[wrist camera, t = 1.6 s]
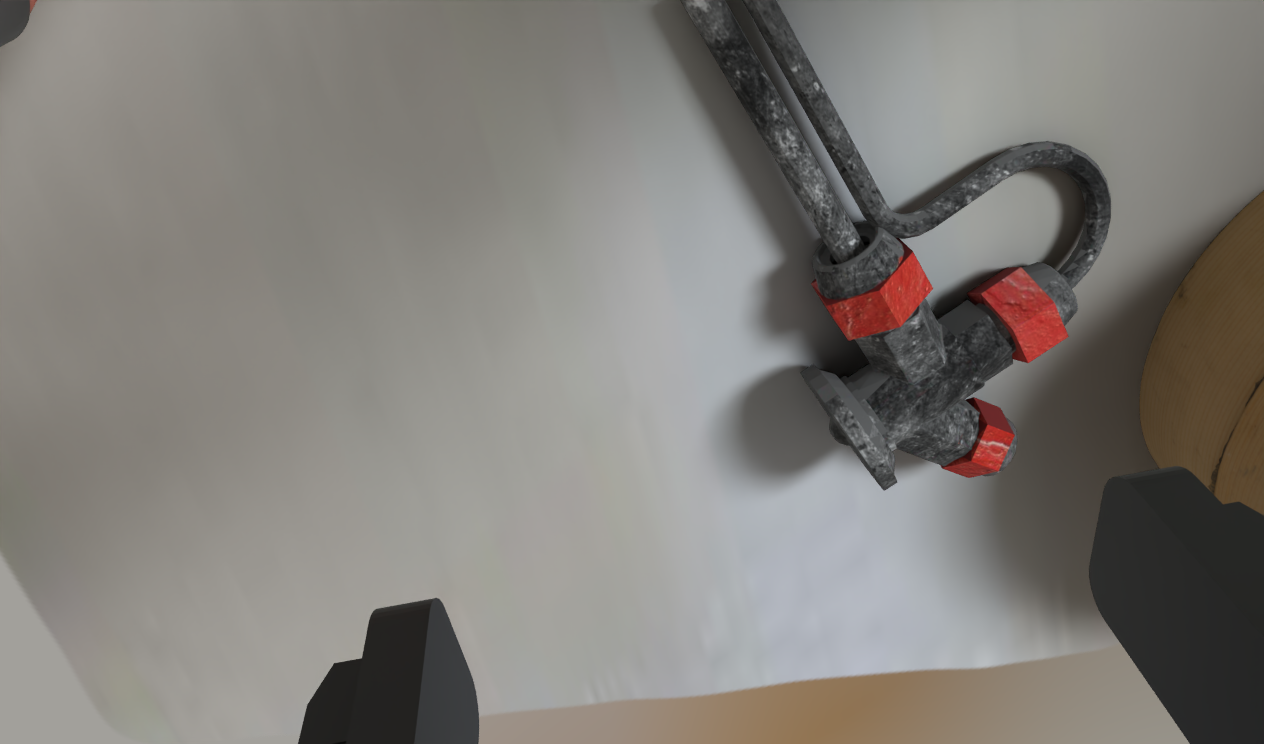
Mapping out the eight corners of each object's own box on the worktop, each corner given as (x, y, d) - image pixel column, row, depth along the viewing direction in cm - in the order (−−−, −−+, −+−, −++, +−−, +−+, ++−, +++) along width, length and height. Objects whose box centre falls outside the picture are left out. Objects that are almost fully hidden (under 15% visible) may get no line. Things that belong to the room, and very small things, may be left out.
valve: (1121, 321, 44) (866, 489, 46) (910, -198, 32) (574, 55, 34) (1219, 379, 39) (924, 567, 40) (1009, -223, 27) (600, 81, 28)
